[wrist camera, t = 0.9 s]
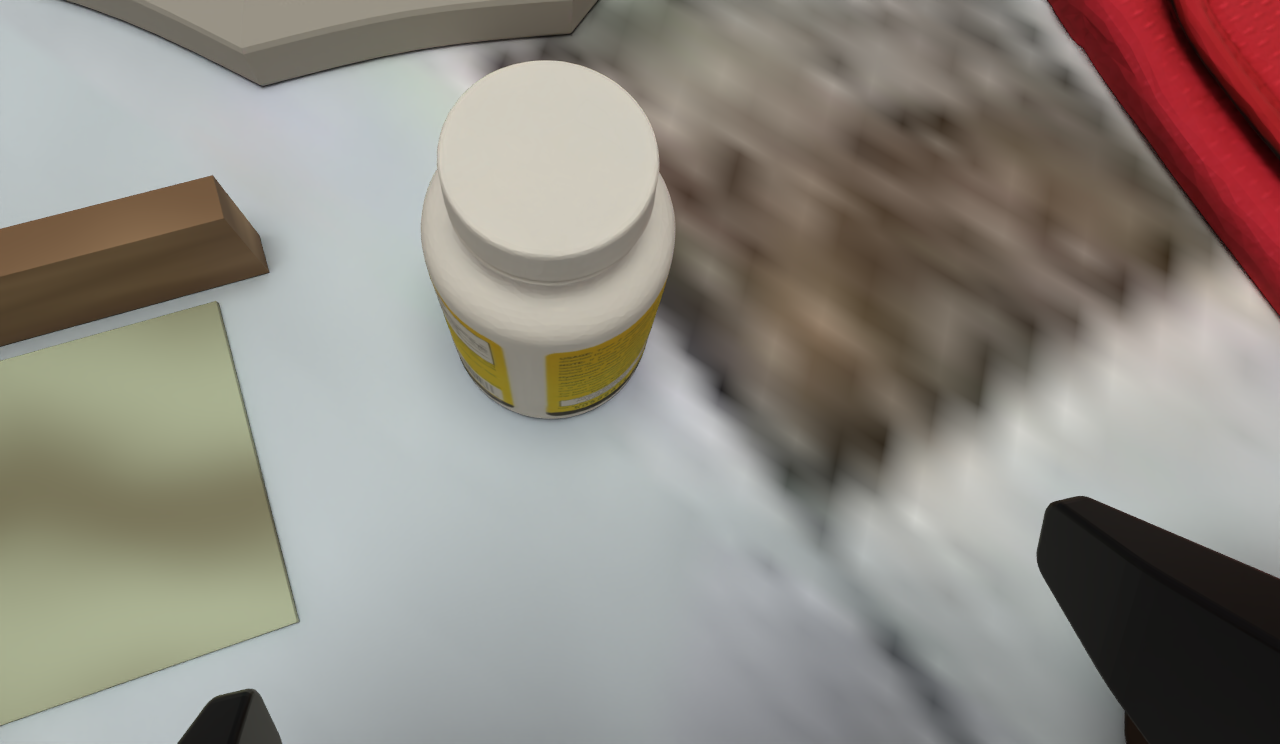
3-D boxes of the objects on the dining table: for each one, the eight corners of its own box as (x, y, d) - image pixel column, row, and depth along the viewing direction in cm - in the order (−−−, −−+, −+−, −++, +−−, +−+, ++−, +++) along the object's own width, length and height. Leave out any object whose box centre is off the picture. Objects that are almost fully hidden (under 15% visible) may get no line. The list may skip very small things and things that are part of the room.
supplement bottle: (663, 267, 26) (728, 68, 16) (620, 443, 24) (664, 336, 15) (485, 221, 25) (446, -6, 16) (430, 395, 24) (351, 255, 14)
